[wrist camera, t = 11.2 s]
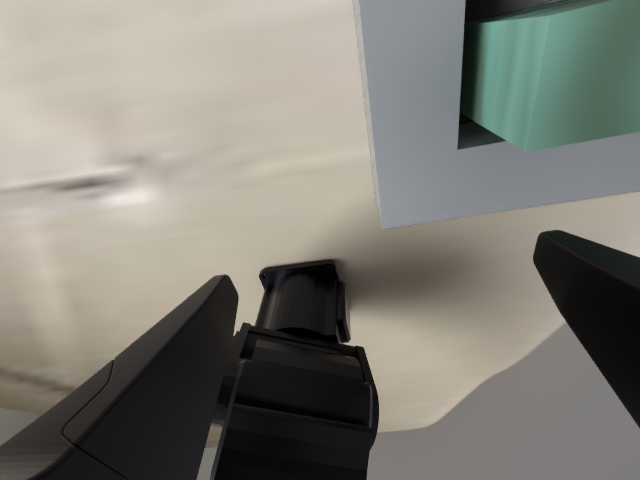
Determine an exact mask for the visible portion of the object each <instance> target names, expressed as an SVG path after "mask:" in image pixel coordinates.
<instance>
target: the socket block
mask: <svg viewBox="0 0 640 480" xmlns="http://www.w3.org/2000/svg"><path fill="white" fill-rule="evenodd" d="M565 1H567V0H565ZM353 5H354V14H355V23H356V32H357V41H358V49H359V58H360V67H361V76H362V85H363V94H364V103H365V111H366V120H367V129H368V138H369V147H370V156H371V165H372V174H373V182H374V191H375V199H376V203H377V208H378V212H379V216H380V220H381V224H382V228H383V229H387V228H394V227H401V226H407V225H414V224H421V223H428V222H435V221H442V220H448V219H455V218H462V217H469V216H476V215H482V214H489V213H496V212H503V211H510V210H517V209H523V208H530V207H537V206H544V205H551V204H558V203H564V202H571V201H578V200H585V199H592V198H599V197H605V196H612V195H619V194H626V193H633V192H640V132H636V133H631V134H625V135H619V136H614V137H608V138H603V139H597V140H591V141H586V142H580V143H575V144H569V145H563V146H558V147H552V148H547V149H541V150H535V151H530V152H525V151H523V150H521V149H520V148H518V147H516V146H515V145H513V144H511V143H510V142H508V141H506V140H505V139H503V138H501V137H500V136H498V135H496V134H495V133H493V132H491V131H490V130H488V129H486V128H485V127H483V126H481V125H479V124H478V123H476V122H470V123H465V124H460V125H459V110H460V92H461V74H462V55H463V37H464V19H465V0H353Z"/></svg>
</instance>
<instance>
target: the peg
mask: <svg viewBox="0 0 640 480" xmlns="http://www.w3.org/2000/svg"><path fill="white" fill-rule="evenodd" d="M459 113H461V114H463V115H464V116H466V117H468V118H469V119H471V120H473V121H474V122H476V123H478V124H479V125H481V126H483V127H485V128H486V129H488V130H490V131H491V132H493V133H495V134H496V135H498V136H500V137H501V138H503V139H505V140H506V141H508V142H510V143H511V144H513V145H515V146H516V147H518V148H520V149H521V150H523V151H525V152H530V151H535V150H541V149H547V148H552V147H558V146H563V145H569V144H575V143H580V142H586V141H591V140H597V139H603V138H608V137H614V136H619V135H625V134H631V133H636V132H640V0H567V1H561V2H555V3H549V4H543V5H538V6H534V7H530V8H526V9H522V10H518V11H514V12H510V13H506V14H502V15H498V16H494V17H490V18H486V19H482V20H478V21H474V22H470V23H466V24H464V37H463V55H462V74H461V92H460V110H459Z"/></svg>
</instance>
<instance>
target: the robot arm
mask: <svg viewBox="0 0 640 480" xmlns="http://www.w3.org/2000/svg"><path fill="white" fill-rule="evenodd" d="M533 261H534V264H535V267H536V268H537V270H538V272H539V274H540V276H541V278H542V280H543V282H544V284H545V285H546V287H547V289H548V291H549V293H550V295H551V297H552V299H553V301H554V302H555V304H556V306H557V308H558V310H559V311H560V313H561V314H562V316H563V317H564V319H565V321H566V322H567V323H568V325H569V326H570V328H571V329H572V331H573V332H574V334H575V335H576V337H577V338H578V339H579V341H580V342H581V344H582V345H583V347H584V348H585V350H586V351H587V353H588V354H589V355H590V357H591V358H592V360H593V361H594V363H595V364H596V366H597V367H598V368H599V370H600V371H601V373H602V374H603V376H604V377H605V379H606V380H607V382H608V383H609V385H610V386H611V387H612V389H613V390H614V392H615V393H616V395H617V396H618V398H619V399H620V400H621V402H622V403H623V405H624V406H625V408H626V409H627V411H628V412H629V414H630V415H631V416H632V418H633V419H634V421H635V422H636V424H637V425H638V427H639V428H640V258H639V257H636V256H633V255H630V254H628V253H625V252H622V251H619V250H616V249H613V248H610V247H607V246H604V245H601V244H598V243H595V242H593V241H590V240H587V239H584V238H581V237H578V236H575V235H572V234H569V233H566V232H563V231H560V230H553V231H545V232H542V233H540V234H539V236H538V239H537V243H536V247H535V251H534V255H533ZM327 266H332V267H331V268H329V267H327ZM264 274H265V275H267V276H265V275H264ZM259 278H260V280H261V283H262V285H263V287H264V290H265V291H264V295H263V299H262V302H261V306H260V309H259V313H258V316H257V320H256V323H255V326H252V325H251V324H249V323H244V322H243V324H242V327H241V329H240V332H239V331H237V332H236V335H235V336H233V333H234V327H235V320H236V313H237V306H238V293H237V291H236V289H235V287H234V285H233V283H232V281H231V279H230V277H229V276H228V275H217V276H214V277H213V278H211V279H210V280H209V281H208V282H206V283H205V284H204V285H203V286H202V287H200V288H199V289H198V290H197V291H196V292H194V293H193V294H192V295H191V296H189V297H188V298H187V299H186V300H185V301H183V302H182V303H181V304H180V305H178V306H177V307H176V308H175V309H174V310H172V311H171V312H170V313H169V314H168V315H166V316H165V317H164V318H163V319H161V320H160V321H159V322H158V323H157V324H155V325H154V326H153V327H152V328H150V329H149V330H148V331H147V332H146V333H144V334H143V335H142V336H141V337H140V338H138V339H137V340H136V341H135V342H133V343H132V344H131V345H130V346H129V347H127V348H126V349H125V350H124V351H122V352H121V353H120V354H119V355H118V356H116V357H115V359H114V360H111V361H110V362H109V363H108V364H107V365H105V366H104V367H103V368H102V369H101V370H99V371H98V372H97V373H96V374H94V375H93V376H92V377H91V378H89V379H88V380H87V381H86V382H84V383H83V384H82V385H81V386H79V387H78V388H77V389H75V390H74V391H73V392H71V393H70V394H69V395H67V396H66V397H65V398H64V399H62V400H61V401H60V402H58V403H57V404H56V405H54V406H53V407H52V408H50V409H49V410H48V411H46V412H45V413H44V414H42V415H41V416H40V417H38V418H37V419H36V420H34V421H33V422H32V423H30V424H29V425H27V426H26V427H25V428H23V429H22V430H21V431H19V432H18V433H17V434H15V435H14V436H13V437H11V438H10V439H9V440H7V441H6V442H5V443H3V444H2V445H1V446H0V480H196V478H197V475H198V471H199V467H200V463H201V460H202V456H203V452H204V448H205V444H206V441H207V437H208V433H209V429H210V425H211V426H215V427H223V429H222V432H221V436H220V440H219V444H218V448H217V452H216V456H215V459H214V463H213V467H212V471H211V476H210V480H366V479H367V467H368V459H369V451H370V449H371V448H372V446H373V444H374V441H375V438H376V434H377V429H378V422H379V401H378V394H377V390H376V386H375V383H374V380H373V377H372V373H371V370H370V367H369V364H368V360H367V357H366V354H365V351H364V348H363V347H361V346H355V347H354V346H349V345H344V344H343V343H347V342H349V341H350V340H351V334H350V313H349V300H348V296H347V291H346V287H345V283H344V282H343V281H339V276H338V272H337V268H336V264H335V262H333V261H330V260H328V261H321V262H313V263H306V264H299V265H291V266H284V267H276V268H269V269H263V270H261V271H260V274H259Z"/></svg>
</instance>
